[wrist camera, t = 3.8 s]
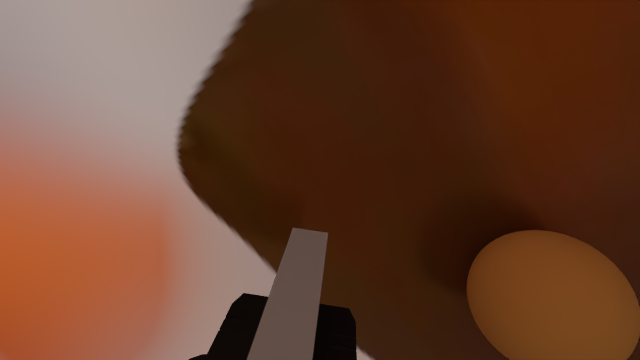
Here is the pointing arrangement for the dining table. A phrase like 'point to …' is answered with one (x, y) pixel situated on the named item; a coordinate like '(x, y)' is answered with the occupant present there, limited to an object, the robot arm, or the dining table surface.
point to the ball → (552, 299)
